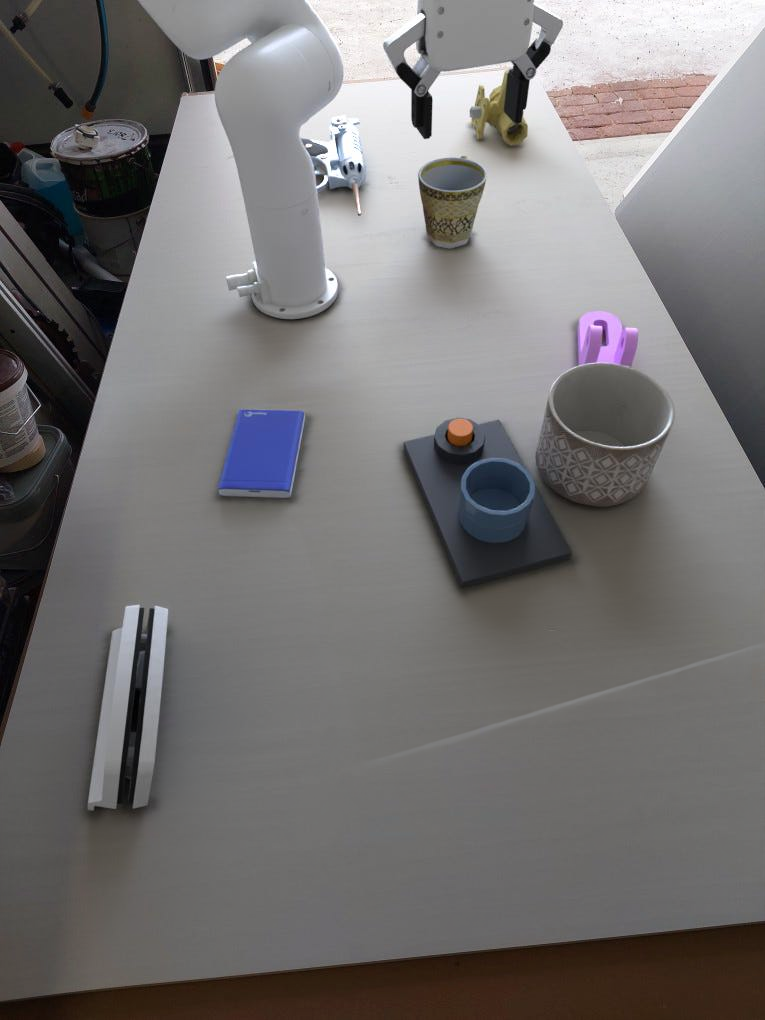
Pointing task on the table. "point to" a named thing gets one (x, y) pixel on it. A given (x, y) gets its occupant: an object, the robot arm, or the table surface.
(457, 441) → the button
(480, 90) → the ball valve
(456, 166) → the ceramic cup
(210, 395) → the table surface
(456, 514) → the scale
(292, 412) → the hard drive
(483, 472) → the blue cup
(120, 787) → the white slotted block
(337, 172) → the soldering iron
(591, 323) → the bracket
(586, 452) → the planter
